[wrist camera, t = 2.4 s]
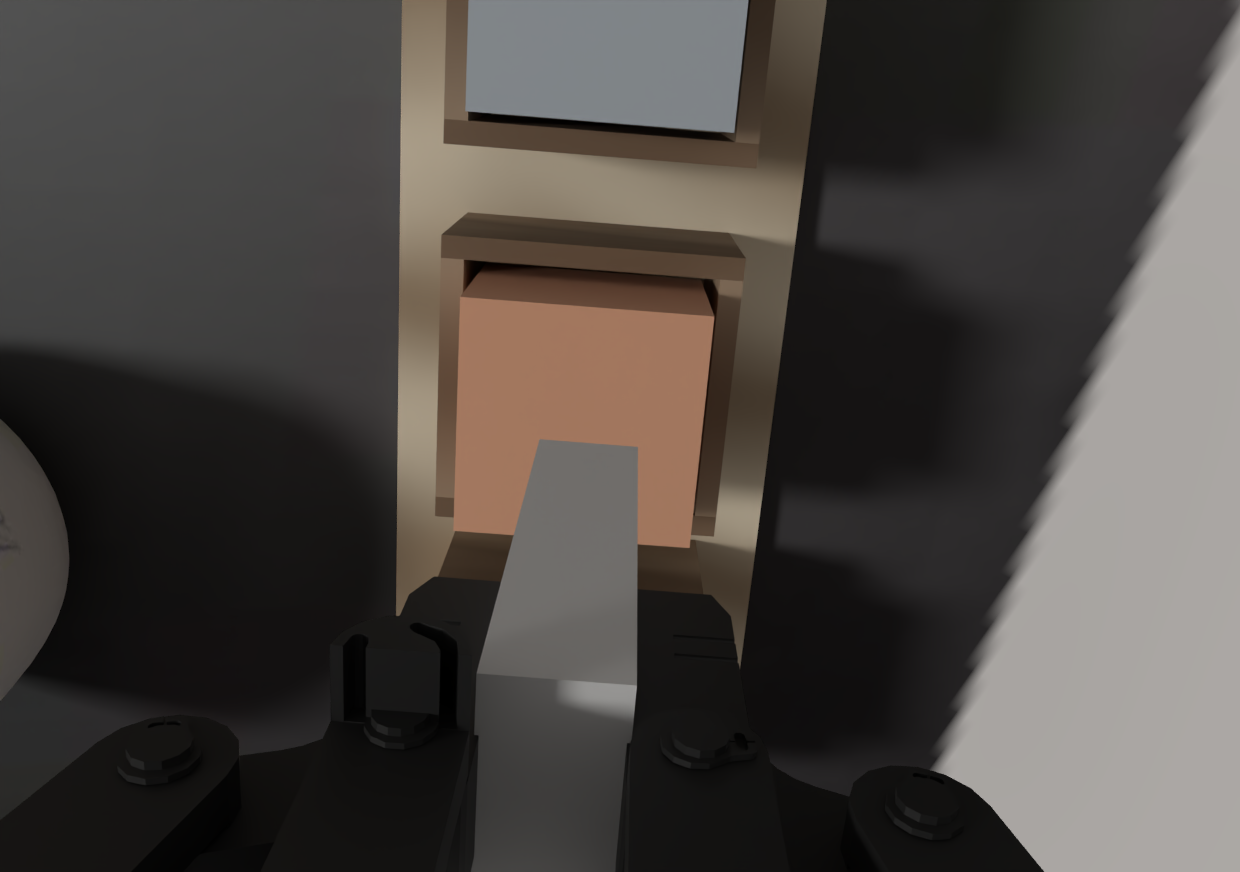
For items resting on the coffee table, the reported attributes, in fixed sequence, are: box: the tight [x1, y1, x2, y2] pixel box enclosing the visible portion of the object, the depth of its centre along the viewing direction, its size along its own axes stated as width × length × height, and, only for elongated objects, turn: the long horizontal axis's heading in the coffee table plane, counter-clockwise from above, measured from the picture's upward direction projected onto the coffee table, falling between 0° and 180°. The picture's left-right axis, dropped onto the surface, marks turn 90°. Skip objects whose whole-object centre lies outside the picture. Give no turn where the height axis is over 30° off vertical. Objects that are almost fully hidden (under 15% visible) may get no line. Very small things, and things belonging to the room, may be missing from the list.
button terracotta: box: [453, 263, 714, 548], centre depth 23 cm, size 5×5×4 cm
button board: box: [396, 0, 827, 668], centre depth 26 cm, size 26×10×4 cm, turn 176°
